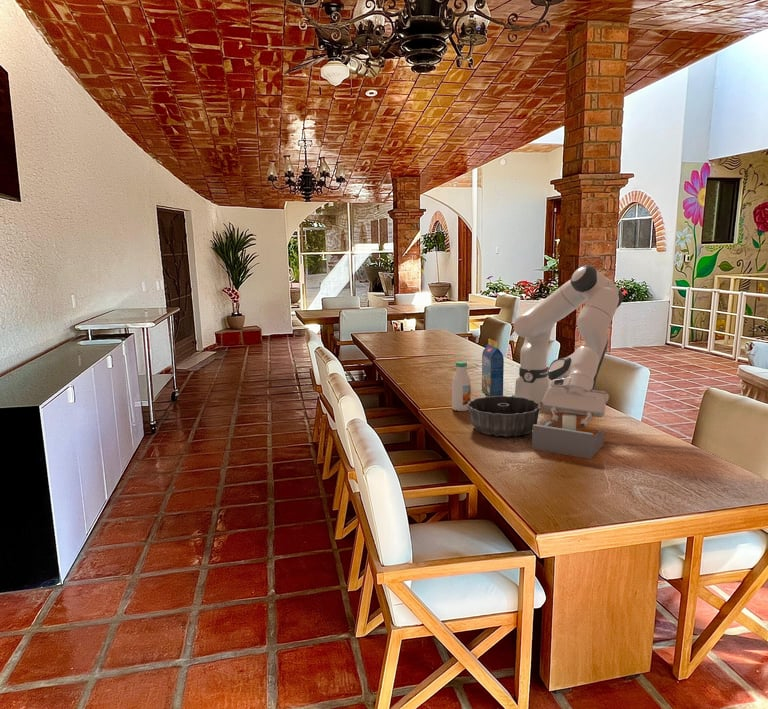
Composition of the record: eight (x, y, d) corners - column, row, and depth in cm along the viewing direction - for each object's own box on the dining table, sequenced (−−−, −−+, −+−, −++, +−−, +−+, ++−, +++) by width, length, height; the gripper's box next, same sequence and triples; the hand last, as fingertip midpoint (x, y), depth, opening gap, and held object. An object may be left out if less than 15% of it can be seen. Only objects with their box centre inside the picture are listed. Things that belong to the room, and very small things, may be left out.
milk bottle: (456, 412, 231) (456, 364, 227) (449, 407, 238) (449, 361, 234) (473, 410, 233) (473, 363, 229) (465, 405, 240) (466, 359, 236)
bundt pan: (451, 430, 208) (451, 403, 207) (497, 415, 225) (497, 391, 223) (509, 447, 188) (510, 418, 187) (554, 430, 205) (555, 404, 203)
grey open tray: (547, 434, 200) (548, 413, 199) (603, 444, 190) (604, 421, 188) (532, 448, 187) (532, 425, 185) (591, 459, 176) (592, 434, 175)
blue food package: (490, 397, 253) (490, 342, 248) (481, 391, 264) (482, 338, 260) (503, 396, 254) (504, 342, 249) (494, 390, 265) (495, 338, 261)
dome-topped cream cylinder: (563, 437, 191) (564, 413, 189) (577, 439, 189) (578, 415, 187) (559, 441, 187) (560, 416, 186) (573, 443, 185) (574, 418, 183)
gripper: (611, 396, 189) (602, 432, 183) (550, 389, 200) (540, 423, 194) (608, 386, 185) (600, 423, 178) (547, 379, 196) (536, 413, 190)
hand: (568, 423), depth 186 cm, fingers open, 8 cm apart
